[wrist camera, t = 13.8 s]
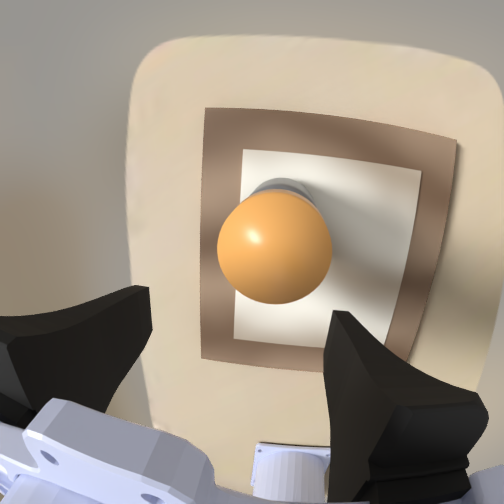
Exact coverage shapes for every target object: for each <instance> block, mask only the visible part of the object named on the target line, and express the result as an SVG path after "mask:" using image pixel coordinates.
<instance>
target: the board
mask: <svg viewBox="0 0 504 504" xmlns="http://www.w3.org/2000/svg"><path fill="white" fill-rule="evenodd" d="M456 144H457V140H455V139H451V138H447V137H443V136H439V135H435V134H431V133H427V132H422V131H418V130H413V129H409V128H404V127H399V126H394V125H388V124H383V123H377V122H372V121H366V120H359V119H353V118H346V117H339V116H331V115H323V114H314V113H304V112H293V111H280V110H265V109H245V108H205V120H204V138H203V159H202V185H201V223H200V325H201V358H202V359H208V360H214V361H221V362H228V363H235V364H242V365H250V366H258V367H267V368H276V369H287V370H298V371H310V372H323V352H324V348H325V344H326V339H327V335H328V330H329V326H330V321H331V316H332V311H333V310H341V311H349V312H350V313H351V314H352V315H353V316H354V317H355V318H356V319H357V320H358V321H359V322H360V323H361V324H362V325H363V326H364V327H365V328H366V329H367V330H368V331H369V332H370V333H371V334H372V335H373V336H374V337H375V338H376V339H377V340H378V341H379V342H381V343H382V344H383V345H384V346H385V347H386V348H388V349H389V350H390V351H391V352H393V353H394V354H395V355H397V356H398V357H399V358H401V359H402V360H404V361H405V362H406V361H407V358H408V356H409V353H410V350H411V348H412V345H413V342H414V339H415V336H416V333H417V330H418V327H419V324H420V321H421V318H422V315H423V312H424V309H425V305H426V302H427V299H428V295H429V292H430V288H431V284H432V281H433V277H434V273H435V269H436V265H437V261H438V257H439V253H440V248H441V244H442V239H443V234H444V229H445V224H446V219H447V213H448V207H449V201H450V195H451V188H452V181H453V173H454V164H455V155H456ZM273 178H289V179H292V180H295V181H297V182H299V183H300V184H302V185H303V186H304V187H306V189H307V190H308V191H309V192H310V194H311V195H312V197H313V199H314V202H315V204H316V207H317V209H318V210H319V212H320V213H321V215H322V217H323V219H324V221H325V224H326V226H327V229H328V231H329V234H330V237H331V243H332V260H331V264H330V267H329V270H328V272H327V274H326V276H325V278H324V280H323V281H322V282H321V284H320V285H319V286H318V287H317V288H316V289H315V290H314V291H313V292H311V293H310V294H309V295H307V296H305V297H304V298H302V299H300V300H297V301H294V302H291V303H286V304H276V305H275V304H265V303H261V302H257V301H254V300H252V299H250V298H248V297H246V296H244V295H242V294H241V293H240V292H238V291H237V290H236V289H235V288H234V287H233V286H232V285H231V284H230V283H229V281H228V280H227V279H226V277H225V275H224V274H223V272H222V269H221V267H220V264H219V261H218V254H217V244H218V237H219V233H220V231H221V228H222V226H223V224H224V222H225V221H226V219H227V218H228V216H229V215H230V214H231V213H232V212H233V211H234V209H235V208H236V207H237V206H238V205H239V204H240V203H241V202H242V201H243V200H245V199H246V198H247V197H249V196H250V195H251V193H252V192H253V191H254V190H255V189H256V188H257V187H258V186H259V185H260V184H262V183H263V182H265V181H267V180H270V179H273Z"/></svg>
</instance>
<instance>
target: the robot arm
mask: <svg viewBox="0 0 504 504" xmlns="http://www.w3.org/2000/svg"><path fill="white" fill-rule="evenodd" d="M152 330H153V329H152V319H151V307H150V294H149V287H145V286H138V285H134V286H130V287H127V288H124V289H121V290H118V291H115V292H113V293H110V294H108V295H105V296H102V297H100V298H97V299H94V300H91V301H89V302H86V303H83V304H80V305H77V306H73V307H70V308H66V309H63V310H58V311H54V312H48V313H42V314H35V315H26V316H0V493H2V494H3V495H4V498H3V500H2V501H1V502H0V504H504V465H498V466H495V467H492V468H488V469H484V470H481V471H478V472H475V473H473V474H472V475H470V476H469V477H468V476H467V473H466V470H465V469H466V468H468V466H469V460H468V458H467V454H468V453H469V452H470V450H471V449H472V448H473V447H474V445H475V444H476V443H477V441H478V440H479V438H480V437H481V436H482V434H483V432H484V430H485V429H486V427H487V424H488V420H489V416H488V411H487V409H486V408H485V406H484V404H483V402H482V400H481V399H480V397H479V395H478V393H476V392H472V391H469V390H466V389H462V388H459V387H456V386H453V385H450V384H448V383H445V382H443V381H440V380H438V379H436V378H434V377H431V376H429V375H427V374H426V373H424V372H422V371H420V370H418V369H416V368H415V367H413V366H411V365H410V364H408V363H407V362H405V361H404V360H402V359H401V358H399V357H398V356H397V355H395V354H394V353H393V352H391V351H390V350H389V349H388V348H386V347H385V346H384V345H383V344H382V343H381V342H379V341H378V340H377V339H376V338H375V337H374V336H373V335H372V334H371V333H370V332H369V331H368V330H367V329H366V328H365V327H364V326H363V325H362V324H361V323H360V322H359V321H358V320H357V319H356V318H355V317H354V316H353V315H352V314H351V313H350V312H349V311H341V310H333V311H332V316H331V321H330V326H329V330H328V335H327V339H326V344H325V348H324V352H323V375H324V382H325V389H326V396H327V403H328V410H329V418H330V448H323V447H301V446H287V445H276V444H266V443H258V444H256V449H255V457H254V464H253V471H252V479H251V485H252V486H254V489H253V495H248V494H245V493H241V492H238V491H235V490H231V489H228V488H225V487H222V486H219V485H216V484H215V481H214V468H213V466H212V464H211V462H210V460H209V459H208V457H207V455H206V454H205V453H204V452H203V451H201V450H200V449H198V448H197V447H196V446H194V445H193V444H192V443H190V442H189V441H187V440H186V439H183V438H180V437H178V436H175V435H173V434H170V433H167V432H165V431H162V430H158V429H154V428H150V427H146V426H143V425H140V424H136V423H133V422H129V421H126V420H123V419H120V418H117V417H113V416H111V415H108V414H105V412H106V410H107V407H108V405H109V403H110V401H111V399H112V397H113V395H114V393H115V391H116V390H117V388H118V386H119V385H120V383H121V382H122V380H123V379H124V377H125V376H126V375H127V373H128V372H129V370H130V369H131V367H132V366H133V364H134V363H135V361H136V360H137V358H138V357H139V355H140V354H141V352H142V351H143V349H144V348H145V345H146V343H147V341H148V339H149V337H150V335H151V333H152ZM329 463H330V473H329V488H328V500H327V503H325V500H324V499H325V495H324V474H325V472H326V470H327V468H328V466H329Z"/></svg>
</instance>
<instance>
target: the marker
mask: <svg viewBox="0 0 504 504" xmlns="http://www.w3.org/2000/svg"><path fill="white" fill-rule="evenodd" d="M217 254H218V261H219V264H220V267H221V269H222V272H223V274H224V275H225V277H226V279H227V280H228V281H229V283H230V284H231V285H232V286H233V287H234V288H235V289H236V290H237V291H238V292H240V293H241V294H242V295H244V296H246V297H248V298H250V299H252V300H254V301H257V302H261V303H265V304H275V305H276V304H286V303H291V302H294V301H297V300H300V299H302V298H304V297H305V296H307V295H309V294H310V293H311V292H313V291H314V290H315V289H316V288H317V287H318V286H319V285H320V284H321V282H322V281H323V280H324V278H325V276H326V274H327V272H328V270H329V267H330V264H331V260H332V243H331V237H330V234H329V231H328V229H327V226H326V224H325V221H324V219H323V217H322V215H321V213H320V212H319V210H318V209H317V207H316V204H315V202H314V199H313V197H312V195H311V194H310V192H309V191H308V190H307V189H306V187H304V186H303V185H302V184H300V183H299V182H297V181H295V180H292V179H289V178H273V179H270V180H267V181H265V182H263V183H262V184H260V185H259V186H258V187H257V188H256V189H255V190H254V191H253V192H252V193H251V195H250V196H249V197H247V198H246V199H245V200H243V201H242V202H241V203H240V204H239V205H238V206H237V207H236V208H235V209H234V211H233V212H232V213H231V214H230V215H229V216H228V218H227V219H226V221H225V222H224V224H223V226H222V228H221V231H220V233H219V237H218V244H217Z"/></svg>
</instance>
